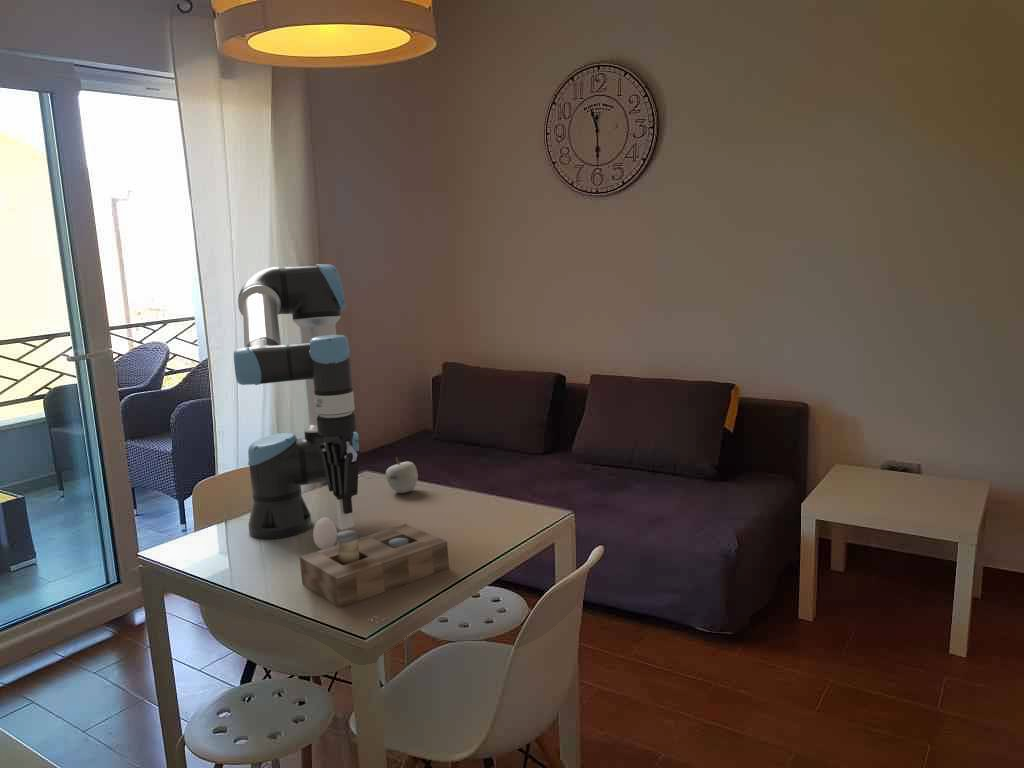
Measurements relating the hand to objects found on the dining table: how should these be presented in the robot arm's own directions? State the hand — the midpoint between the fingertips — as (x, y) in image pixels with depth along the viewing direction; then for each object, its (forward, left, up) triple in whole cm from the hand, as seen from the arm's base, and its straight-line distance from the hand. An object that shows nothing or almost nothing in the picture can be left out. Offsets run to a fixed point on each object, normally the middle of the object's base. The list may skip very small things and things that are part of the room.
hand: (346, 527), depth 166 cm
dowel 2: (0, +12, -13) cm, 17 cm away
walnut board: (0, +6, -13) cm, 14 cm away
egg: (-22, +6, -13) cm, 26 cm away
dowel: (0, 0, -8) cm, 8 cm away
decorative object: (-45, +42, -13) cm, 63 cm away
